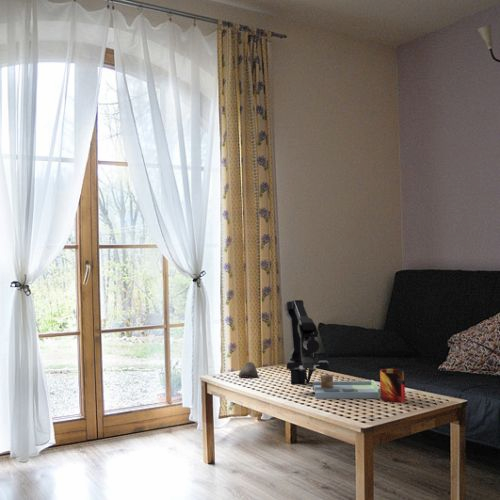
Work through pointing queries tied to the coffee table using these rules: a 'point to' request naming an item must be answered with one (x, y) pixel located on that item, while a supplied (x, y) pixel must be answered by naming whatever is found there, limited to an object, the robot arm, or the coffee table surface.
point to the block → (326, 381)
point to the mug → (392, 385)
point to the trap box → (347, 390)
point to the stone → (248, 370)
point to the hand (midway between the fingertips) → (307, 384)
